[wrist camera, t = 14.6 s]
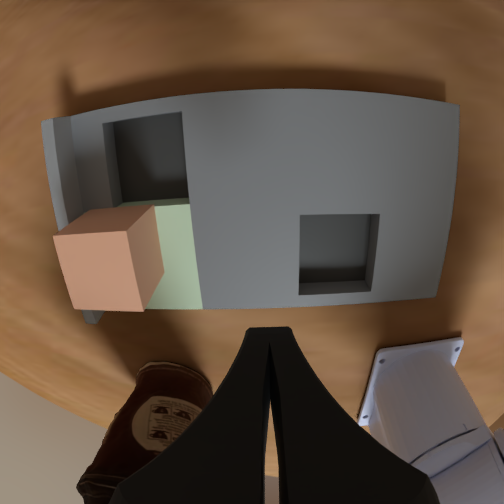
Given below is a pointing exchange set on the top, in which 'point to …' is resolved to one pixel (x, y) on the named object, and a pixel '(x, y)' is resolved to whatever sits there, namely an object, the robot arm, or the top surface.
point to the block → (111, 258)
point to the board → (271, 192)
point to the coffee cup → (145, 426)
